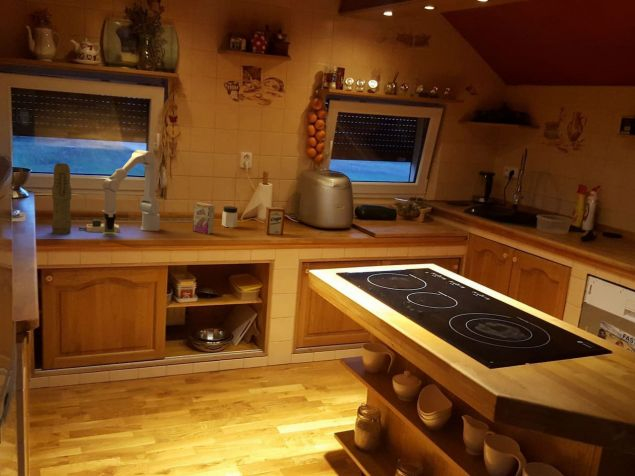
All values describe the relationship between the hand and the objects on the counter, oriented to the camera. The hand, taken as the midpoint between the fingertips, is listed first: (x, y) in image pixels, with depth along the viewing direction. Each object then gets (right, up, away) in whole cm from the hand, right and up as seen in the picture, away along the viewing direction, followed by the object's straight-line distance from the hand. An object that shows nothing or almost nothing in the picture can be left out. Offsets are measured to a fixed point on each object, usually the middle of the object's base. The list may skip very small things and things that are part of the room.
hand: (109, 228), depth 310 cm
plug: (-9, +2, +7) cm, 12 cm away
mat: (0, -3, +1) cm, 3 cm away
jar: (+55, +1, +50) cm, 74 cm away
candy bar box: (+43, -2, +27) cm, 51 cm away
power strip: (-9, -1, +8) cm, 12 cm away
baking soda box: (+82, -3, +41) cm, 91 cm away
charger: (0, -2, 0) cm, 2 cm away
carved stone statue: (-23, -2, -4) cm, 24 cm away
